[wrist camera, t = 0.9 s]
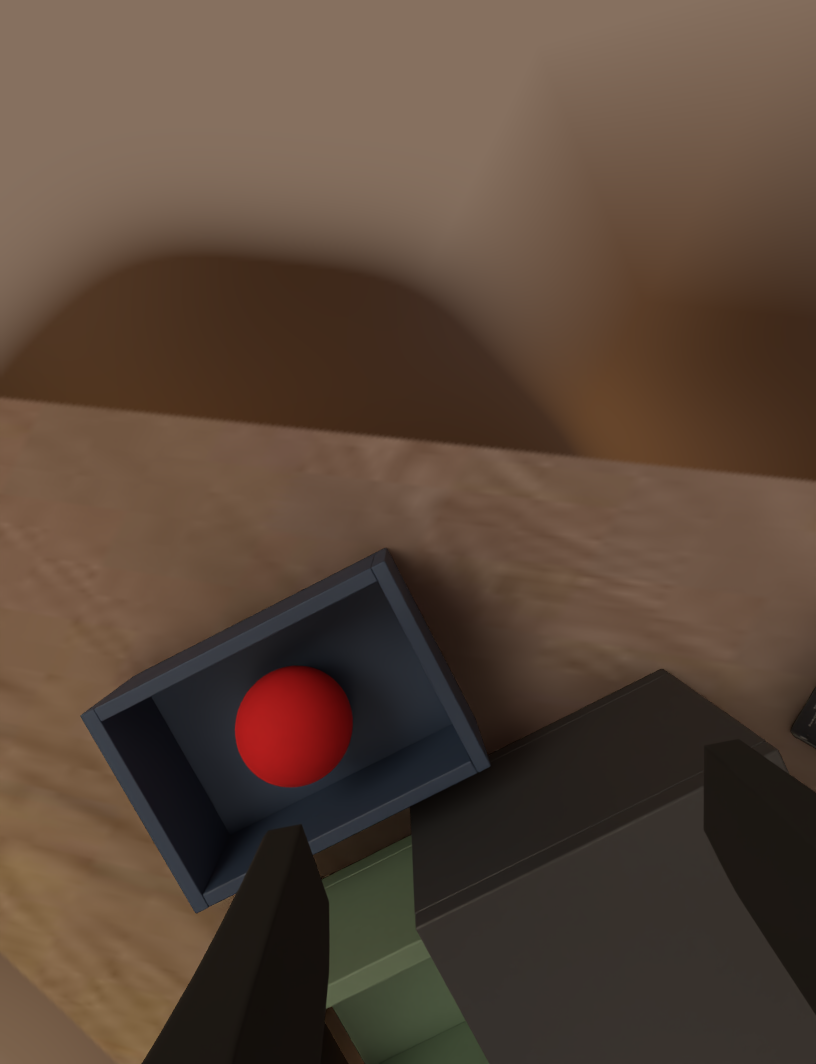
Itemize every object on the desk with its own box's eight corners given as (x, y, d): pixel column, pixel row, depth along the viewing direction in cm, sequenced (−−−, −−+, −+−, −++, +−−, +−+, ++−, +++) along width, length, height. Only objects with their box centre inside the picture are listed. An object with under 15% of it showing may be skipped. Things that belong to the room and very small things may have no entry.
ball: (338, 766, 27) (325, 827, 22) (238, 735, 27) (203, 791, 22) (370, 669, 27) (364, 710, 22) (268, 638, 26) (240, 672, 22)
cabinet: (518, 998, 29) (568, 1210, 20) (409, 793, 28) (414, 928, 19) (763, 878, 28) (917, 1044, 20) (662, 667, 27) (779, 749, 19)
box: (228, 843, 28) (195, 914, 23) (133, 676, 27) (79, 715, 22) (475, 719, 27) (491, 766, 23) (386, 547, 27) (384, 560, 22)
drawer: (314, 1102, 28) (289, 1296, 21) (207, 918, 27) (145, 1060, 20) (567, 979, 28) (621, 1136, 21) (467, 788, 27) (491, 890, 20)
